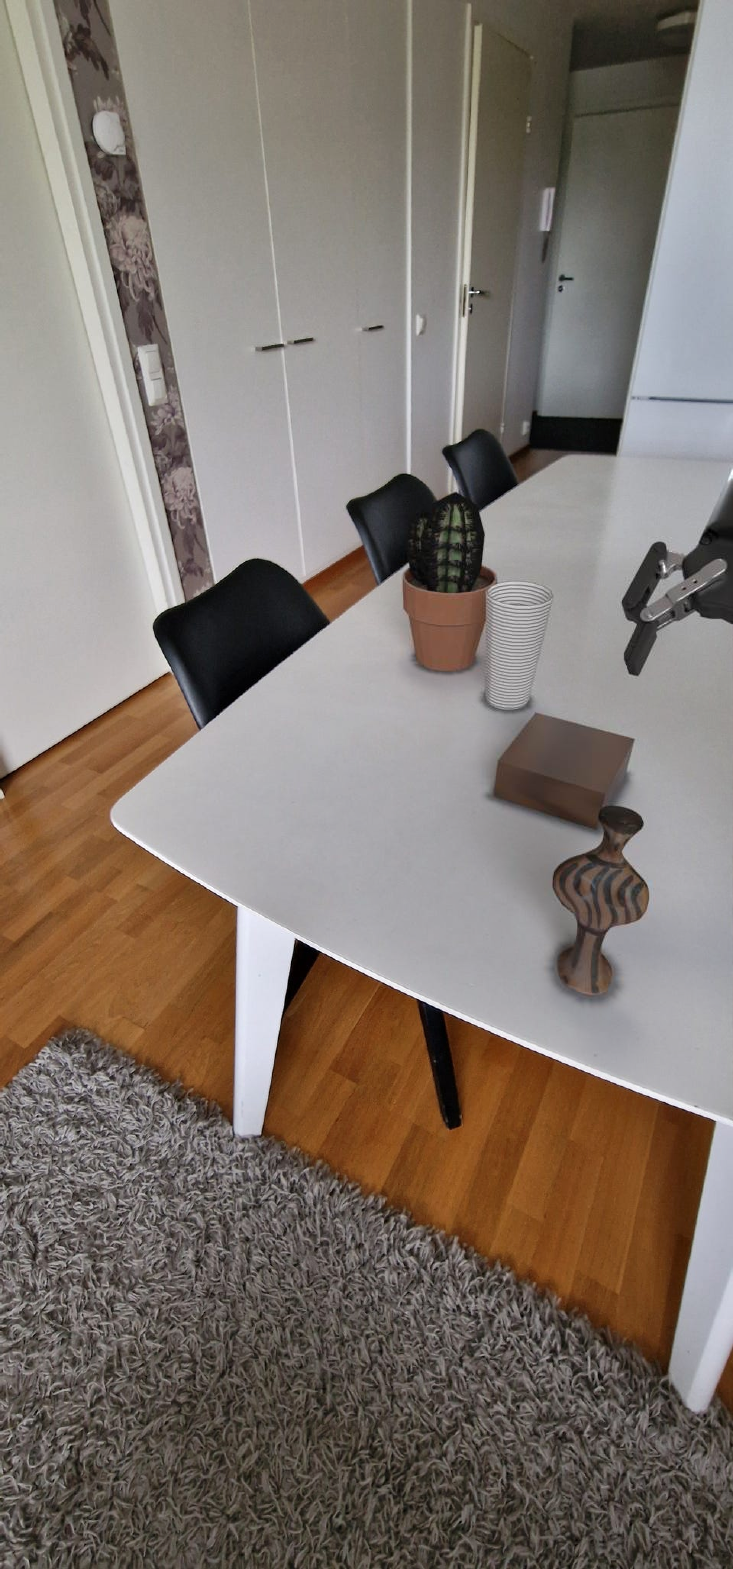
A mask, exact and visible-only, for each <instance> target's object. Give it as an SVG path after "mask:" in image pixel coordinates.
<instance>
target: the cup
mask: <svg viewBox="0 0 733 1569" xmlns="http://www.w3.org/2000/svg"><path fill="white" fill-rule="evenodd" d="M554 597H555V596H554V593H553V591H552V590H551V589H549V588H548V587H547V586H546V585H542V584H539V583H536V582H530V581H525V580H507V581H500V582H497V584H494V585H492V586H490V587H489V588H488V589H487V590H486V622H485V679H484V680H485V685H484V686H485V687H484V688H485V692H484V693H485V694H484V695H485V700H486V702H487V703H488V704H489V705H490V706H492V707H495V708H496V709H502V710H513V711H514V710H517V709H518V710H519V709H521V708H523V707H525V706H527V704H528V703H529V701H530V697H531V694H532V688H533V685H534V681H535V676H536V673H537V668H538V663H539V659H540V655H541V652H542V647H543V643H544V638H545V635H546V630H547V626H548V623H549V618H550V614H551V609H552V605H553V602H554Z"/></svg>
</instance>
